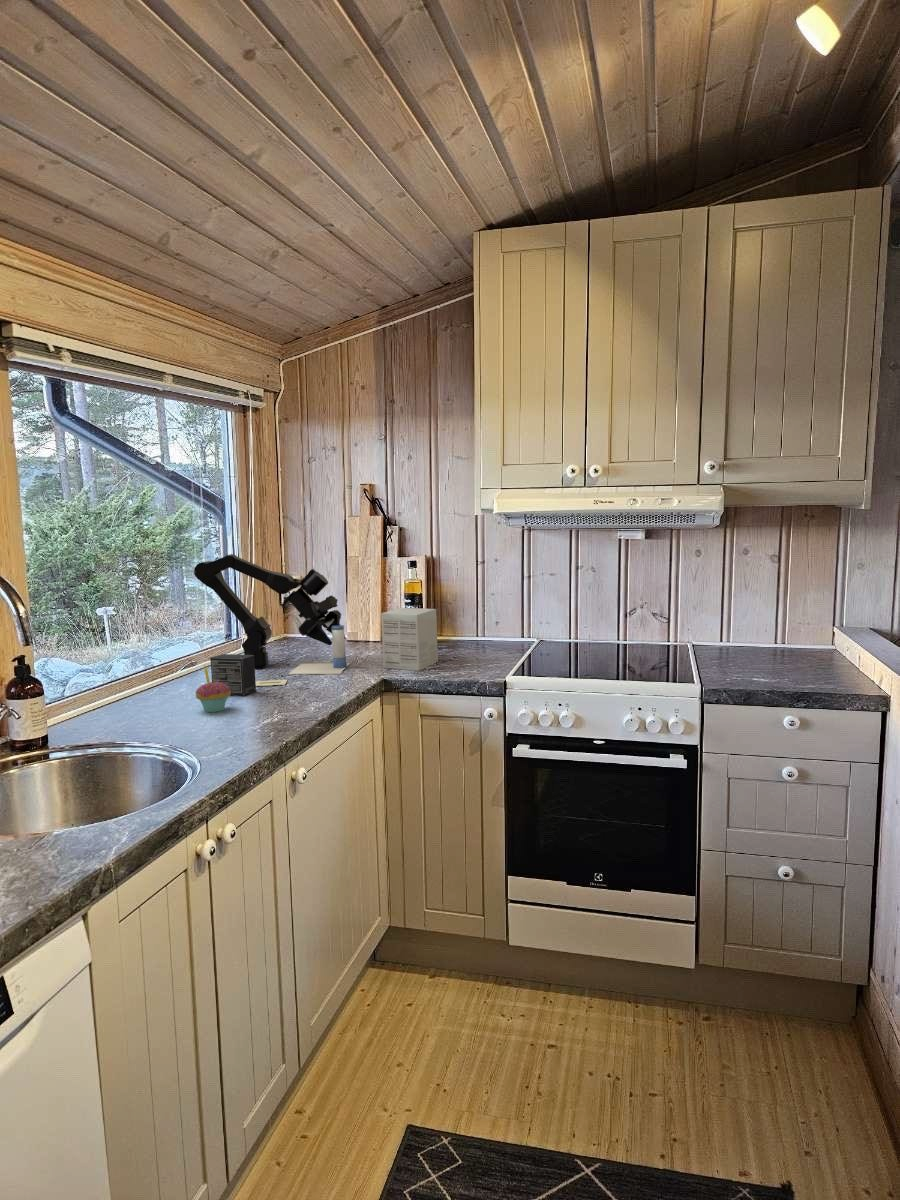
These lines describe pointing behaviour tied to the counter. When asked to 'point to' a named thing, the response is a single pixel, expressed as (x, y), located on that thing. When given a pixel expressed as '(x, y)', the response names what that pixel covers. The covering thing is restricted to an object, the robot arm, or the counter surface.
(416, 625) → the supplement box
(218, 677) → the small box
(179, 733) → the counter surface
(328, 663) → the notepad
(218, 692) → the cupcake
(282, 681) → the word card
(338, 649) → the cylinder
